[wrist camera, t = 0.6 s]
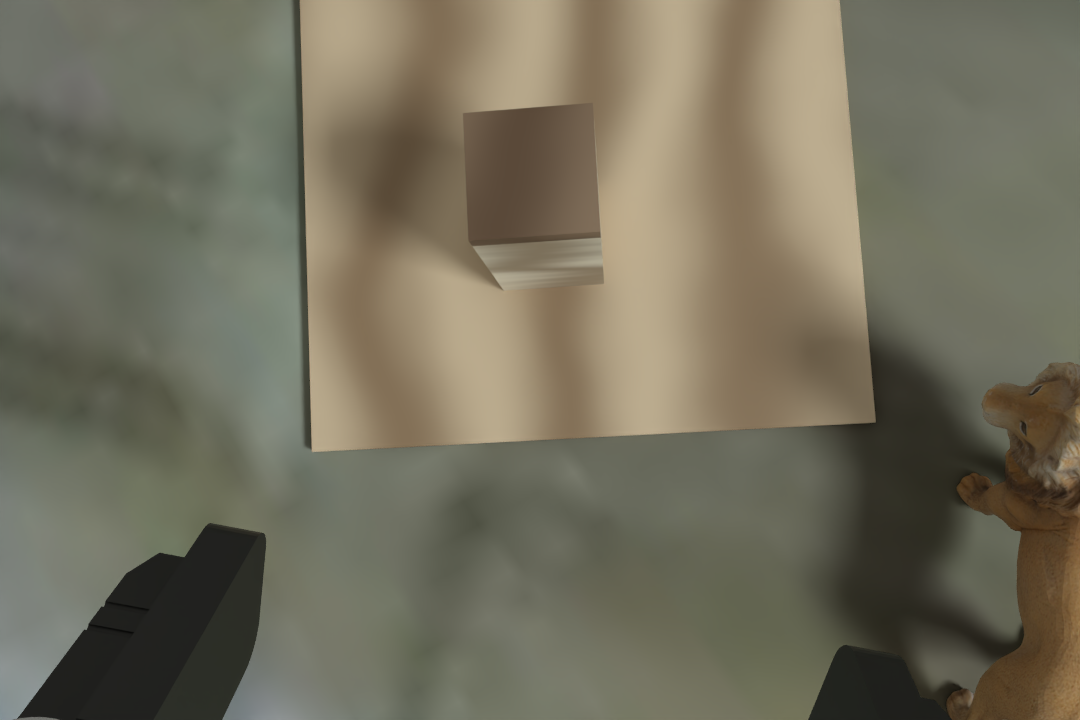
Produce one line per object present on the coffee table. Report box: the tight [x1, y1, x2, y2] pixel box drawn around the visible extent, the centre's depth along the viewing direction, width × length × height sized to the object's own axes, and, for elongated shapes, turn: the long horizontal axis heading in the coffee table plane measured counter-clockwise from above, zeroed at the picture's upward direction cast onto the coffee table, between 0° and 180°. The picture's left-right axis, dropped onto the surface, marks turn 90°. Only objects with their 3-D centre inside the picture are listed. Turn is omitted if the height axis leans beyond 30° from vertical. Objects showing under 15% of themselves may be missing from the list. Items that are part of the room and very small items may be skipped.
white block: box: [463, 103, 604, 291], centre depth 33 cm, size 4×4×9 cm
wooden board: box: [300, 0, 876, 452], centre depth 38 cm, size 22×20×1 cm
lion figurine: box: [947, 362, 1080, 720], centre depth 31 cm, size 15×5×9 cm, turn 3°
